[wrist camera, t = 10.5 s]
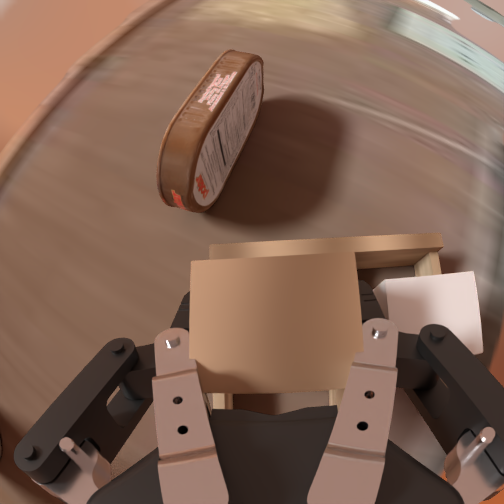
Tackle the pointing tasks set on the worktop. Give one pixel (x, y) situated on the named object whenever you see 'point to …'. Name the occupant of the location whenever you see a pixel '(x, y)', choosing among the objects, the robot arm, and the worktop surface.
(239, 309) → the tan block
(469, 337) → the white block
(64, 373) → the worktop surface
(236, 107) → the tin
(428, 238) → the rack
